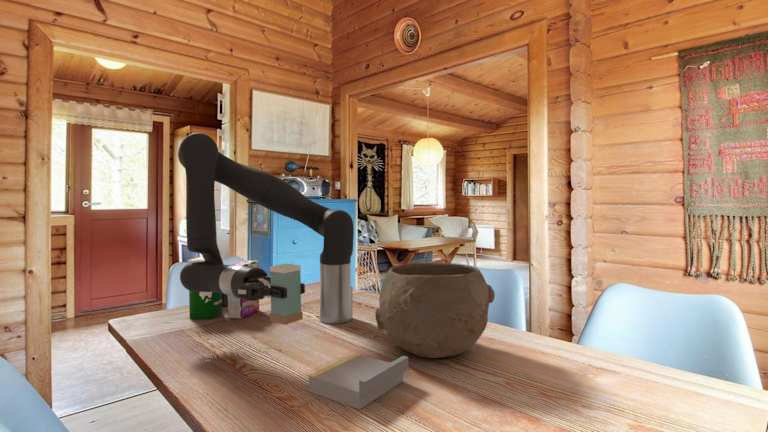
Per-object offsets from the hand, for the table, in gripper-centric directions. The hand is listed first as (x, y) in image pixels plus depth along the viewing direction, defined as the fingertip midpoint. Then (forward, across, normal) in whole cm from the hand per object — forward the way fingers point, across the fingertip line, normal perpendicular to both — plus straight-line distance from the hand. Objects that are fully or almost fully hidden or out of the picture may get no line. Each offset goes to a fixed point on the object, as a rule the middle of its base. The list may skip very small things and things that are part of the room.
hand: (294, 291), depth 87 cm
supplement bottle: (-63, +24, +17) cm, 69 cm away
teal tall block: (-3, 0, +6) cm, 7 cm away
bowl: (+18, +27, +18) cm, 37 cm away
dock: (+15, +2, +17) cm, 23 cm away
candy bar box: (-47, +22, +17) cm, 54 cm away
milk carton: (-55, +14, +17) cm, 59 cm away
